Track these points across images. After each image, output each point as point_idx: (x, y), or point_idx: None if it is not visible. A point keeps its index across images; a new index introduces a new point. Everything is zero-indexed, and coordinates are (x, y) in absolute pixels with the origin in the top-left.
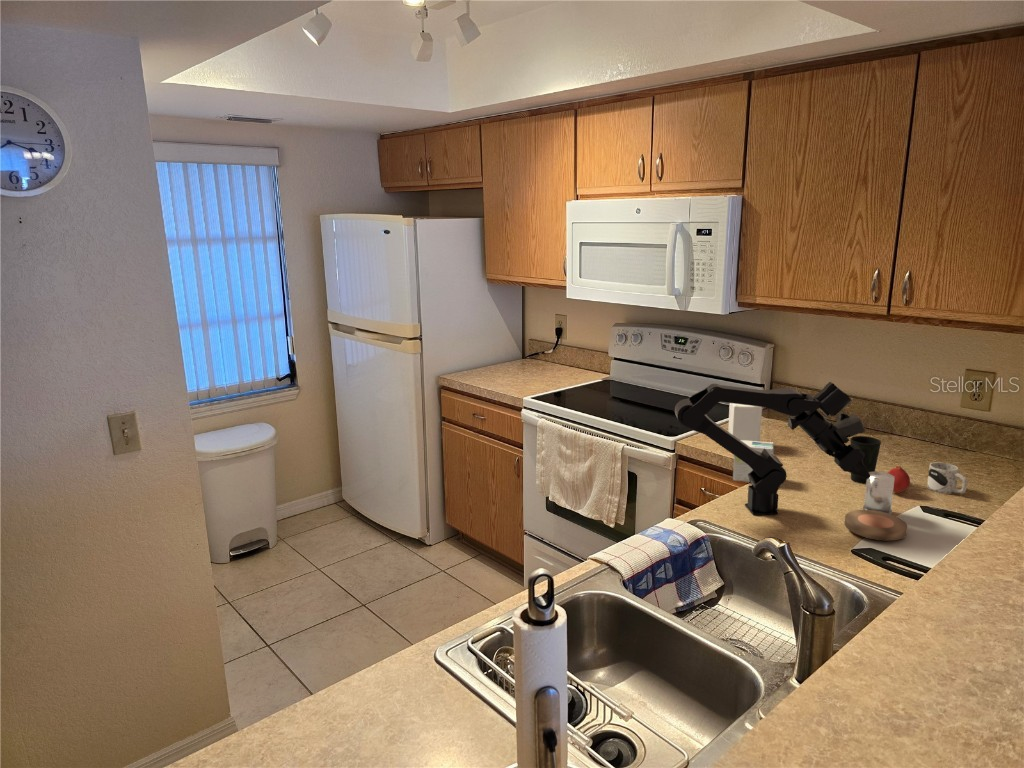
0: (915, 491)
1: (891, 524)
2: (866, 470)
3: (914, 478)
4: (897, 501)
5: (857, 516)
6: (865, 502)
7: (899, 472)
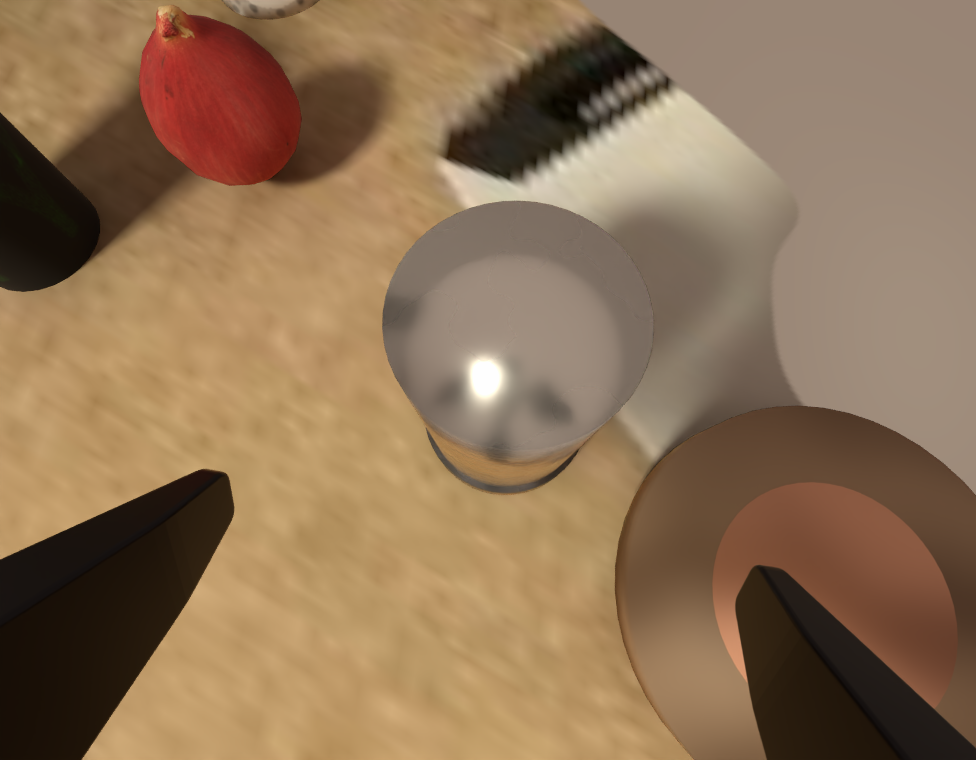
0: None
1: (889, 525)
2: (919, 709)
3: (120, 2)
4: (369, 224)
5: None
6: (494, 482)
7: (221, 60)
